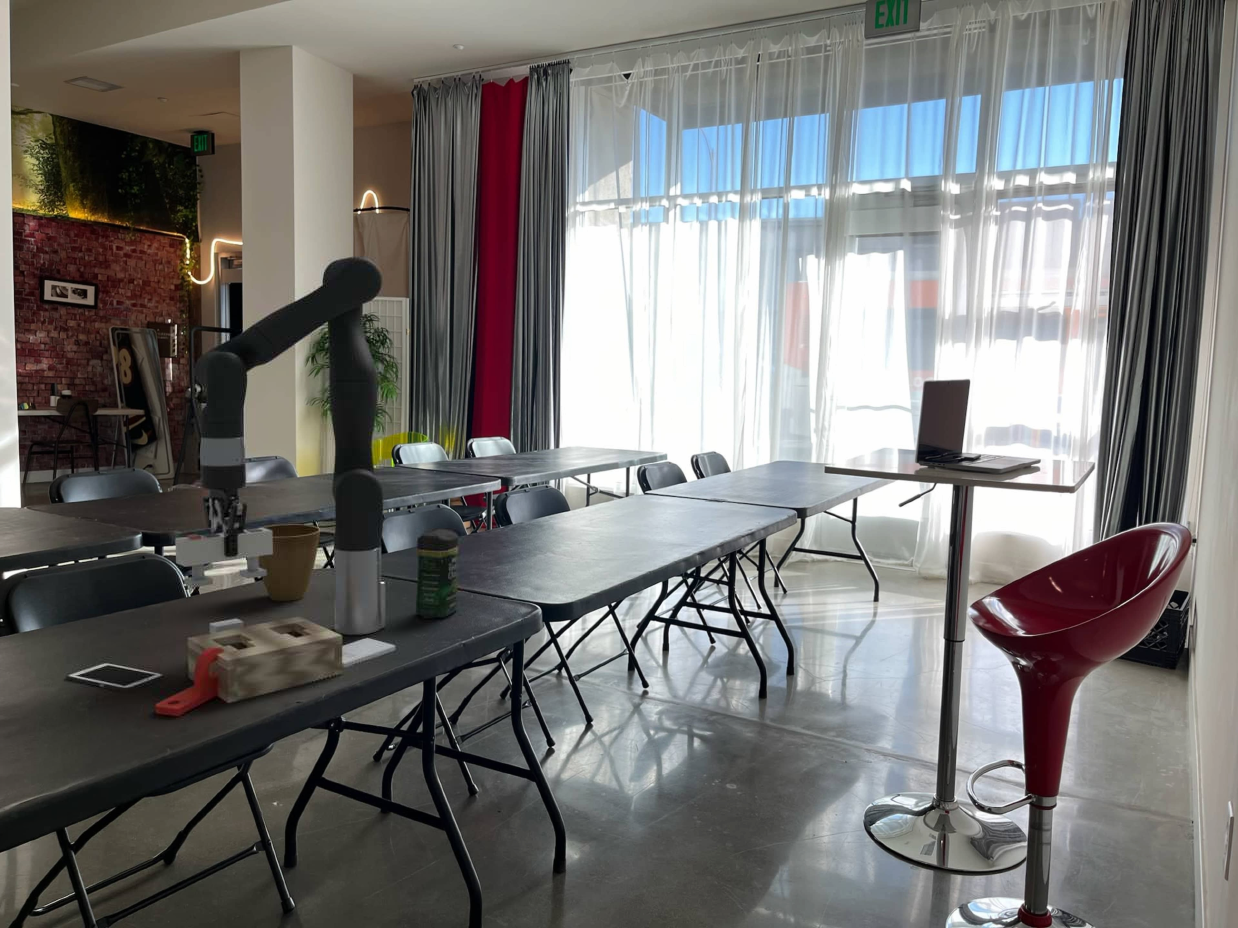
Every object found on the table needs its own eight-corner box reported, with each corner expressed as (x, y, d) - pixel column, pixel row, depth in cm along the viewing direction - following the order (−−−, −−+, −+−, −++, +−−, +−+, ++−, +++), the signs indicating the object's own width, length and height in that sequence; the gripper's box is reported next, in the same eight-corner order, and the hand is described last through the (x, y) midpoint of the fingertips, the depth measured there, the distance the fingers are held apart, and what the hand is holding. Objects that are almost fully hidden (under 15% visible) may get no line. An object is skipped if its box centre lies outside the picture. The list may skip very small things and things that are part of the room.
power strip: (263, 571, 170) (262, 525, 169) (273, 574, 167) (272, 528, 166) (176, 584, 159) (175, 535, 158) (185, 588, 156) (184, 538, 155)
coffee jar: (444, 620, 190) (444, 535, 188) (410, 617, 191) (410, 533, 190) (463, 609, 199) (463, 528, 197) (431, 606, 201) (431, 525, 199)
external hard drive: (395, 653, 169) (344, 670, 159) (365, 645, 174) (314, 661, 163) (395, 645, 169) (344, 662, 159) (365, 637, 173) (313, 653, 163)
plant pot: (240, 597, 204) (239, 529, 203) (300, 586, 216) (299, 521, 214) (273, 609, 195) (271, 538, 193) (333, 597, 206) (332, 530, 204)
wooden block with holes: (298, 652, 166) (298, 616, 166) (342, 673, 155) (342, 635, 155) (188, 677, 152) (187, 637, 151) (228, 702, 141) (227, 660, 140)
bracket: (204, 686, 147) (203, 640, 147) (228, 689, 146) (227, 642, 146) (152, 712, 136) (150, 663, 135) (178, 716, 135) (176, 665, 134)
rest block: (237, 649, 167) (236, 618, 167) (244, 652, 165) (243, 621, 165) (210, 654, 164) (209, 623, 163) (217, 658, 162) (216, 626, 161)
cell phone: (105, 667, 157) (104, 661, 157) (166, 679, 152) (166, 674, 152) (63, 680, 150) (63, 675, 150) (127, 694, 144) (126, 688, 144)
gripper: (261, 464, 159) (263, 557, 160) (227, 457, 168) (229, 545, 170) (218, 466, 153) (221, 563, 155) (186, 459, 163) (189, 551, 165)
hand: (225, 553), depth 162 cm, fingers closed on power strip, 4 cm apart
